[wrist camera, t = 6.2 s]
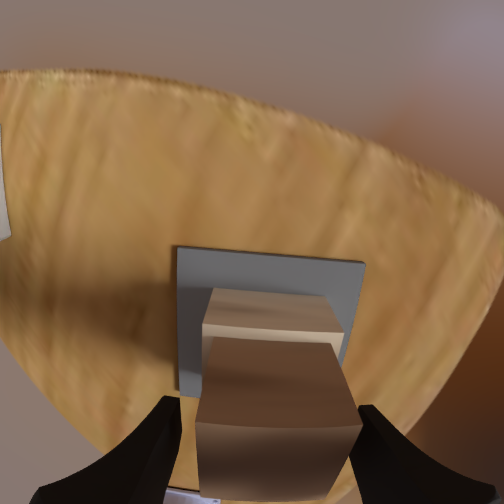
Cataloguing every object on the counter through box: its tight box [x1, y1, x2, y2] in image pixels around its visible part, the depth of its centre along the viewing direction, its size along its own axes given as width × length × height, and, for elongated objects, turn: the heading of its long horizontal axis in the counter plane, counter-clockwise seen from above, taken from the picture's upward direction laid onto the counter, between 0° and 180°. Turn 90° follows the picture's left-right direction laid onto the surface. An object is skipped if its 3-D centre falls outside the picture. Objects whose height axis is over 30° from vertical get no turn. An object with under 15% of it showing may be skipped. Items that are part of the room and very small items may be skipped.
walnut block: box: [195, 336, 363, 502], centre depth 11 cm, size 5×5×5 cm
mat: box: [177, 246, 366, 398], centre depth 17 cm, size 10×10×1 cm
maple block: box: [202, 288, 344, 387], centre depth 15 cm, size 6×6×4 cm
